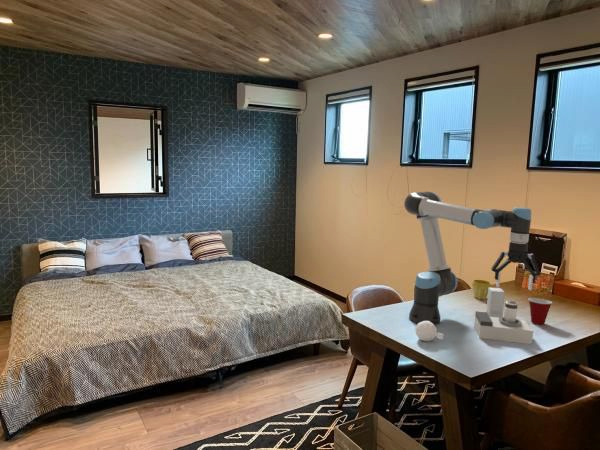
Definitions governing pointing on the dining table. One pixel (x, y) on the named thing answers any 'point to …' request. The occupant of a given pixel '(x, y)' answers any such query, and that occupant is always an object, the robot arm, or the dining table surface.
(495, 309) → the skincare box
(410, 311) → the robot arm
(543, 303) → the plastic cup
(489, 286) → the plant pot
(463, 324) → the dining table surface
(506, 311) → the lens
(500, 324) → the camera body
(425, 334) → the perfume bottle
